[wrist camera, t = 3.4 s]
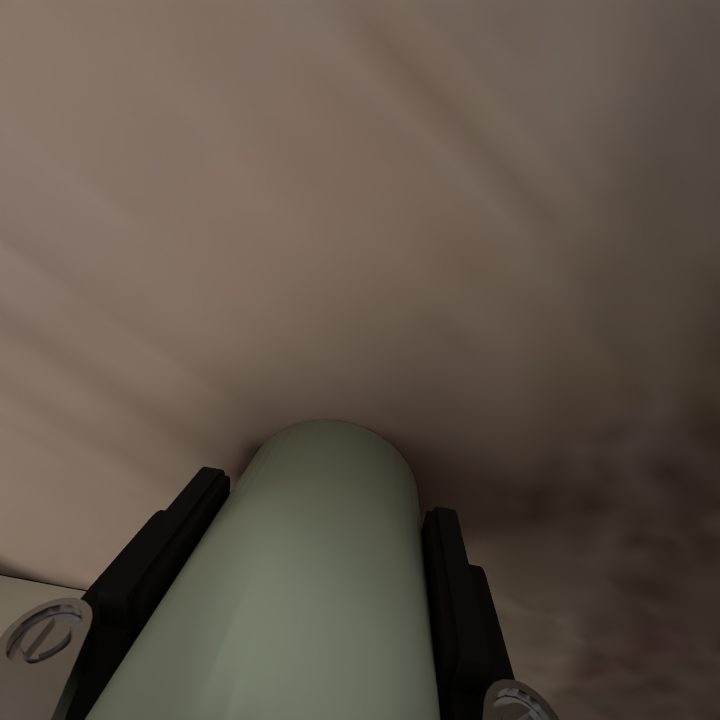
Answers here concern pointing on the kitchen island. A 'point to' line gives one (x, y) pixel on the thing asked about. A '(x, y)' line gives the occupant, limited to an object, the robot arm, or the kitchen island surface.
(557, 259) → the kitchen island surface
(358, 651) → the jar
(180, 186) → the kitchen island surface
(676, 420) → the kitchen island surface
